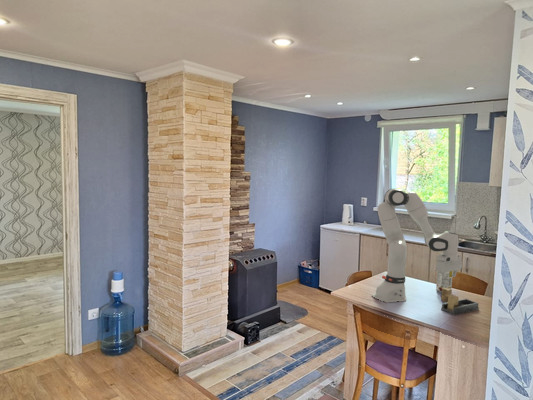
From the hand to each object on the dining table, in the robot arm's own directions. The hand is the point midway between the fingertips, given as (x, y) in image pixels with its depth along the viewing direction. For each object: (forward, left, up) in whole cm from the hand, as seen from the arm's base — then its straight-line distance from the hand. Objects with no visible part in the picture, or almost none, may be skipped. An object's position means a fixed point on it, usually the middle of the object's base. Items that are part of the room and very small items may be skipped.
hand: (448, 277), depth 236 cm
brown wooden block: (0, 0, -16) cm, 16 cm away
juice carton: (+14, +13, -16) cm, 25 cm away
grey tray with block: (-5, -13, -16) cm, 21 cm away
